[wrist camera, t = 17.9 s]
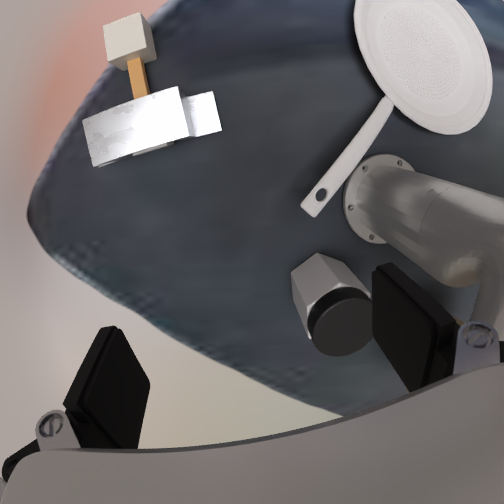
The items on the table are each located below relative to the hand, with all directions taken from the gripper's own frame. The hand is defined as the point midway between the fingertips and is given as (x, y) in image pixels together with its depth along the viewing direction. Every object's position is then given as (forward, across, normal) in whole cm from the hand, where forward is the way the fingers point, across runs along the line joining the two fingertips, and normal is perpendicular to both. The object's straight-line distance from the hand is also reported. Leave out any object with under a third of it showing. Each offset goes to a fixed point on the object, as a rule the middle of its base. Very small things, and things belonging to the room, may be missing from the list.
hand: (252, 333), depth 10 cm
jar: (+28, -9, +15) cm, 33 cm away
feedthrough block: (+28, +8, -10) cm, 31 cm away
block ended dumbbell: (+28, +7, -16) cm, 33 cm away
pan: (+29, -25, -11) cm, 40 cm away
